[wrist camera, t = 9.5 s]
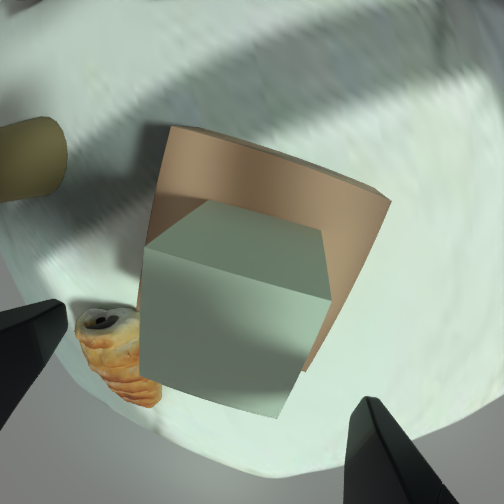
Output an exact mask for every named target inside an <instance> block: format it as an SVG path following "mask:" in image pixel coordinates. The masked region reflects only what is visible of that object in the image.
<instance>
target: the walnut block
mask: <svg viewBox="0 0 504 504" xmlns="http://www.w3.org/2000/svg"><path fill="white" fill-rule="evenodd" d="M208 200H213V201H217V202H221V203H224V204H228V205H232V206H236V207H240V208H243V209H247V210H251V211H255V212H258V213H262V214H266V215H269V216H273V217H276V218H280V219H284V220H287V221H291V222H294V223H298V224H301V225H305V226H308V227H312V228H315V229H318V230H321V233H322V239H323V245H324V251H325V257H326V264H327V270H328V277H329V284H330V291H331V298H332V302H331V305H330V307H329V309H328V312H327V314H326V317H325V319H324V321H323V324H322V326H321V328H320V330H319V333H318V335H317V337H316V340H315V342H314V344H313V346H312V348H311V351H310V353H309V355H308V357H307V359H306V361H305V364H304V366H303V368H302V370H301V371H304V372H306V371H307V369H308V367H309V366H310V364H311V362H312V361H313V359H314V357H315V355H316V354H317V352H318V350H319V349H320V347H321V345H322V343H323V342H324V340H325V338H326V336H327V334H328V333H329V331H330V329H331V327H332V325H333V324H334V322H335V320H336V318H337V316H338V314H339V312H340V311H341V309H342V307H343V305H344V303H345V301H346V299H347V297H348V295H349V293H350V291H351V289H352V287H353V285H354V283H355V281H356V279H357V277H358V275H359V273H360V271H361V269H362V267H363V265H364V263H365V261H366V259H367V256H368V254H369V252H370V250H371V248H372V246H373V243H374V241H375V239H376V237H377V234H378V232H379V230H380V228H381V225H382V223H383V221H384V218H385V216H386V214H387V211H388V209H389V207H390V204H391V202H392V201H391V200H389V199H388V198H387V197H385V196H384V195H383V194H381V193H380V192H379V191H378V190H376V189H375V188H373V187H371V186H369V185H366V184H364V183H361V182H359V181H357V180H354V179H352V178H349V177H347V176H344V175H342V174H339V173H337V172H334V171H332V170H329V169H326V168H324V167H321V166H318V165H316V164H313V163H310V162H308V161H305V160H302V159H299V158H296V157H293V156H291V155H288V154H285V153H282V152H279V151H276V150H273V149H270V148H267V147H264V146H261V145H257V144H254V143H251V142H248V141H245V140H241V139H238V138H234V137H231V136H228V135H224V134H221V133H217V132H213V131H210V130H206V129H202V128H199V127H184V126H171V129H170V133H169V136H168V140H167V144H166V148H165V152H164V156H163V160H162V164H161V169H160V173H159V177H158V182H157V186H156V191H155V196H154V201H153V206H152V211H151V216H150V221H149V226H148V232H147V238H146V244H145V246H146V245H147V244H149V243H150V242H151V241H153V240H154V239H155V238H157V237H158V236H159V235H161V234H162V233H163V232H165V231H166V230H167V229H169V228H170V227H171V226H173V225H174V224H175V223H177V222H178V221H180V220H181V219H182V218H184V217H185V216H187V215H188V214H189V213H191V212H192V211H194V210H195V209H196V208H198V207H199V206H201V205H202V204H203V203H205V202H206V201H208ZM142 266H143V262H142ZM141 280H142V269H141V276H140V283H139V291H138V299H137V307H136V310H138V311H140V298H141Z"/></svg>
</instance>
